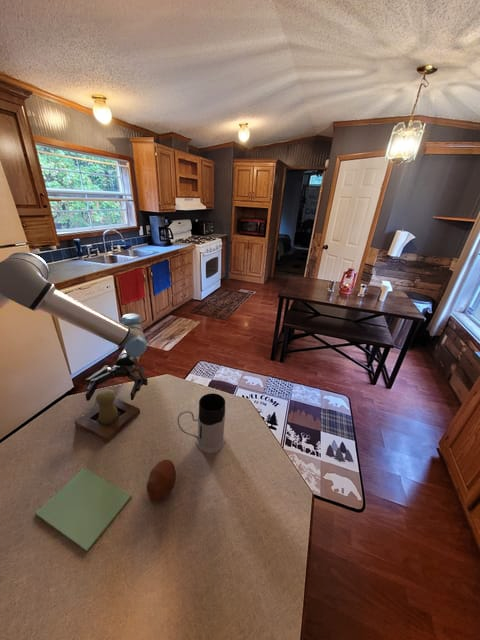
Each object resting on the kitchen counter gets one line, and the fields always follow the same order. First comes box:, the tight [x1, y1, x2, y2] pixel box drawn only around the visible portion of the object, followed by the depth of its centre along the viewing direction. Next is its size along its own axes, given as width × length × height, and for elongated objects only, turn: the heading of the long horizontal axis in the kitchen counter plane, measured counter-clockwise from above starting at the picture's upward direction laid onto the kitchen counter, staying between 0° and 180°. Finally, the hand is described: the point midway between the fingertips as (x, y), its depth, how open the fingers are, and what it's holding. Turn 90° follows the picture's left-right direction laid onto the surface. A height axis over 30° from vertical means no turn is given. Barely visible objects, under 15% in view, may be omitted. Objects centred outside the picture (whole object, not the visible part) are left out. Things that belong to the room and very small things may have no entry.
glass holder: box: [176, 392, 226, 454], centre depth 74 cm, size 9×14×15 cm, turn 112°
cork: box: [95, 388, 120, 427], centre depth 80 cm, size 6×6×11 cm
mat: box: [34, 467, 133, 553], centre depth 59 cm, size 16×12×1 cm
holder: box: [73, 397, 141, 444], centre depth 81 cm, size 13×13×2 cm
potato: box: [146, 458, 177, 503], centre depth 63 cm, size 7×9×6 cm
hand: (109, 397), depth 82 cm, fingers open, 13 cm apart
